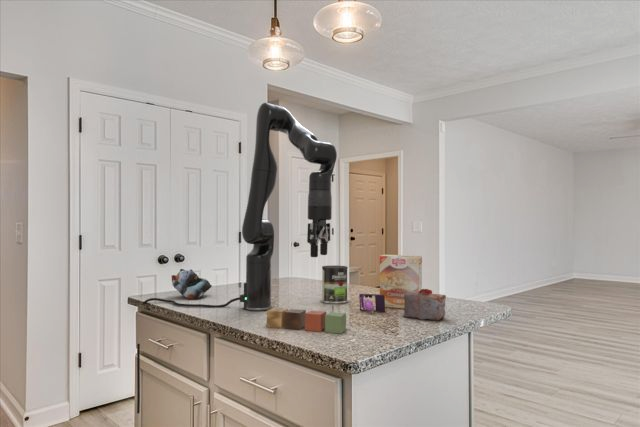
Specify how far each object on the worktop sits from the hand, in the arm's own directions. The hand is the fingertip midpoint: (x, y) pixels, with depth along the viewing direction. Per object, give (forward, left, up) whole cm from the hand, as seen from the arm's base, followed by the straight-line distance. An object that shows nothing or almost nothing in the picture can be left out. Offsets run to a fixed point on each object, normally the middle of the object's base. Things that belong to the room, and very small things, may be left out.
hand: (319, 256), depth 142 cm
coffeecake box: (+20, +37, -22) cm, 48 cm away
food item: (+31, +20, -22) cm, 43 cm away
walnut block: (-5, -7, -22) cm, 23 cm away
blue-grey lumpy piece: (-67, +27, -22) cm, 76 cm away
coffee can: (-7, +39, -22) cm, 46 cm away
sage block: (+8, -7, -22) cm, 24 cm away
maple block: (-11, -7, -22) cm, 25 cm away
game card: (+12, +23, -22) cm, 34 cm away
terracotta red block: (+1, -6, -22) cm, 22 cm away
